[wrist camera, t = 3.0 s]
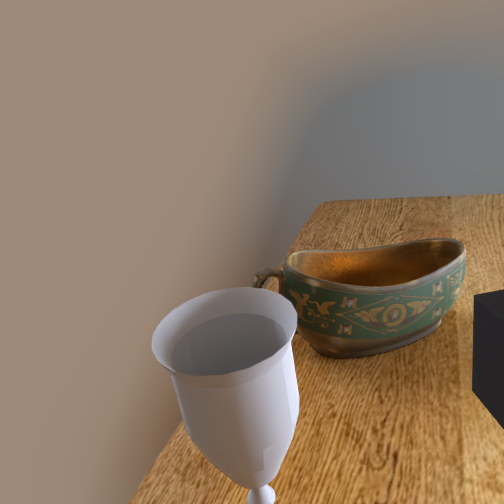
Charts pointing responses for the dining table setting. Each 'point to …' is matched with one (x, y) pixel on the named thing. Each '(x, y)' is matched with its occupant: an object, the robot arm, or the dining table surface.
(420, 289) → the cup
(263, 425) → the chalice
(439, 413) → the dining table surface
